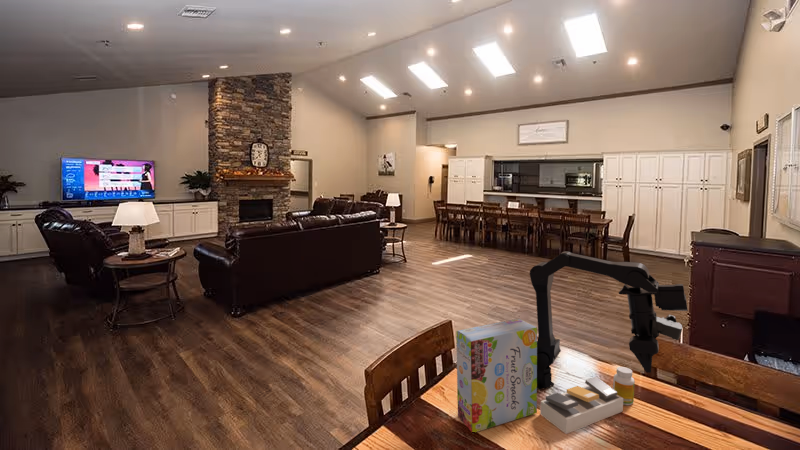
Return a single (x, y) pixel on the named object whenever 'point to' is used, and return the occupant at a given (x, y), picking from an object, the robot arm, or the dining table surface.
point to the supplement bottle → (624, 385)
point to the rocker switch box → (581, 411)
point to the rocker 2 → (601, 387)
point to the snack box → (496, 373)
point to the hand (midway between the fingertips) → (649, 365)
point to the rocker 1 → (562, 401)
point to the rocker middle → (583, 394)
